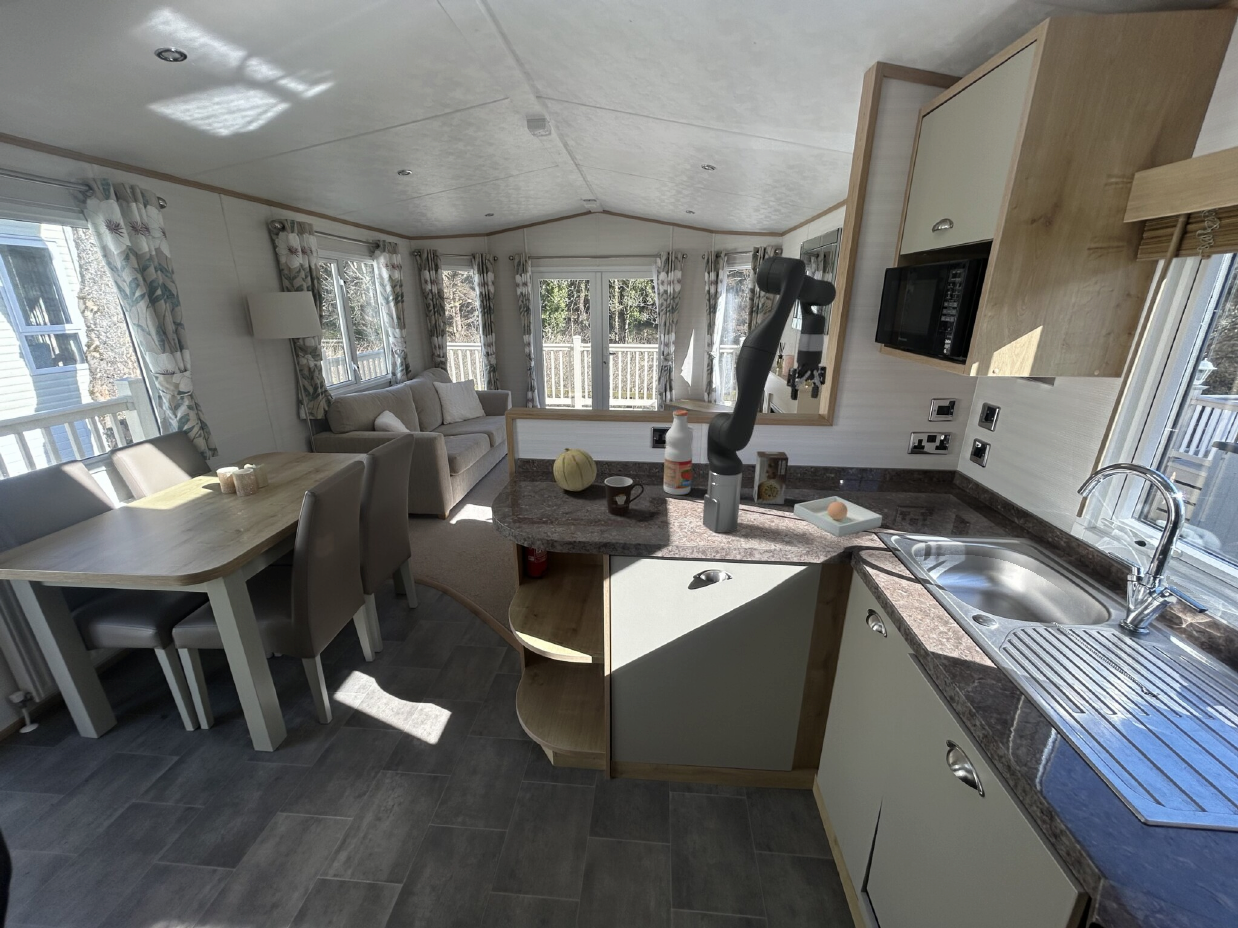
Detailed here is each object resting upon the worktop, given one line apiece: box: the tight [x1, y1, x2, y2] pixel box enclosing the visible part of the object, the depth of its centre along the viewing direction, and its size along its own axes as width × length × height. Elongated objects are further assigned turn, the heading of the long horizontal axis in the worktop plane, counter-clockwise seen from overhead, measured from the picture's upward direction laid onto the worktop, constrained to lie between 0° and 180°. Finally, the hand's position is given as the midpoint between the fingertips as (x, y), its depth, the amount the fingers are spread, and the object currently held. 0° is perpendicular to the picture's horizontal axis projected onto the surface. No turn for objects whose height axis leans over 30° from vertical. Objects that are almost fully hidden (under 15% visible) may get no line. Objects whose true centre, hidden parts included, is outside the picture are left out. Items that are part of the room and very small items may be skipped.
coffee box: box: [752, 450, 789, 505], centre depth 163 cm, size 9×6×16 cm
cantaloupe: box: [552, 447, 598, 492], centre depth 171 cm, size 15×15×15 cm
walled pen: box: [793, 495, 883, 538], centre depth 150 cm, size 17×17×3 cm
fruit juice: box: [663, 409, 694, 496], centre depth 169 cm, size 9×9×28 cm
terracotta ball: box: [828, 502, 848, 520], centre depth 149 cm, size 6×6×6 cm
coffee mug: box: [604, 476, 645, 516], centre depth 154 cm, size 12×9×10 cm
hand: (804, 399), depth 164 cm, fingers open, 8 cm apart
